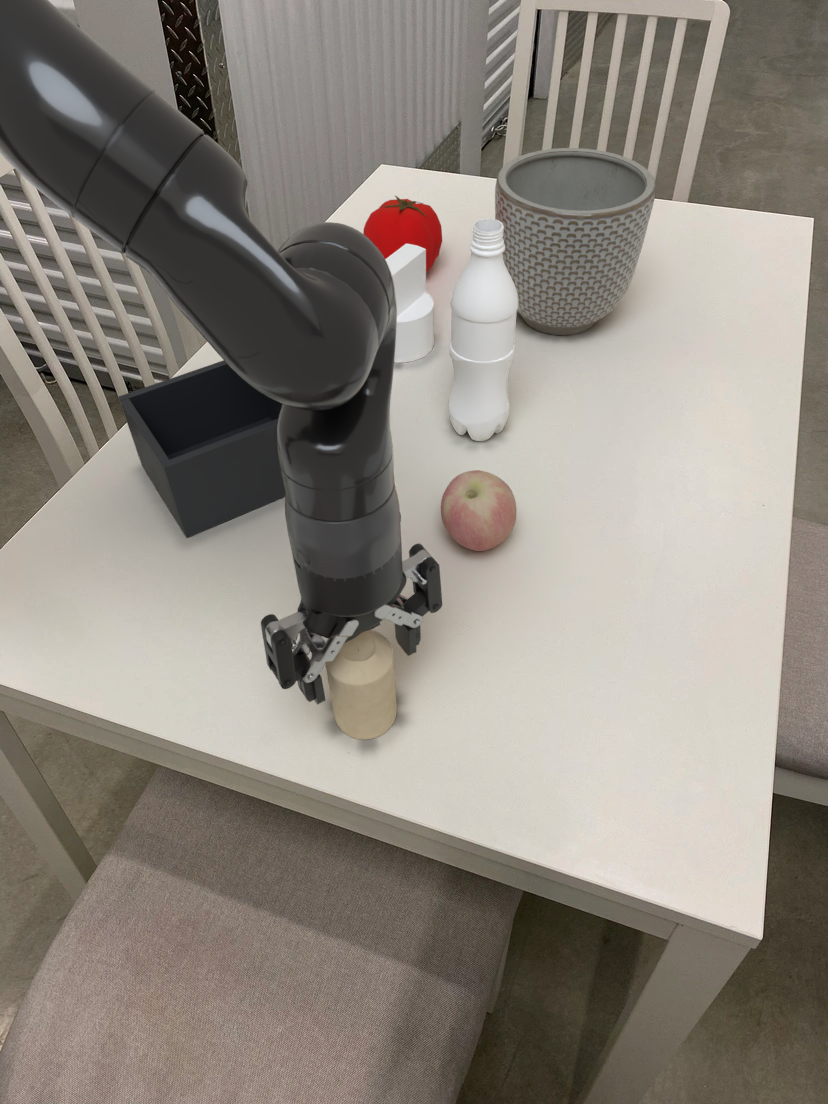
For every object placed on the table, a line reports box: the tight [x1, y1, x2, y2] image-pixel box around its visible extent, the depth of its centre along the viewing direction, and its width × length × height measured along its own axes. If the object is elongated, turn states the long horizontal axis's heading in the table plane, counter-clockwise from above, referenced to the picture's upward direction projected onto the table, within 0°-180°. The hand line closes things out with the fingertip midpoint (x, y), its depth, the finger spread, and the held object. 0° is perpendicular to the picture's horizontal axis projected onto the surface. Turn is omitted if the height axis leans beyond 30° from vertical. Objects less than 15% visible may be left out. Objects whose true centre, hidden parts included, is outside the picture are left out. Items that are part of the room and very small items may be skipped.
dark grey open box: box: [117, 359, 285, 539], centre depth 90 cm, size 17×14×10 cm
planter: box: [494, 147, 656, 336], centre depth 108 cm, size 20×20×19 cm
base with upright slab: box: [385, 244, 435, 364], centre depth 106 cm, size 9×9×12 cm
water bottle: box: [448, 218, 518, 442], centre depth 89 cm, size 7×7×25 cm
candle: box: [324, 629, 398, 740], centre depth 68 cm, size 6×6×10 cm
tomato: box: [362, 195, 443, 273], centre depth 120 cm, size 12×12×11 cm
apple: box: [440, 469, 517, 552], centre depth 83 cm, size 8×8×8 cm
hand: (361, 670), depth 67 cm, fingers open, 8 cm apart
